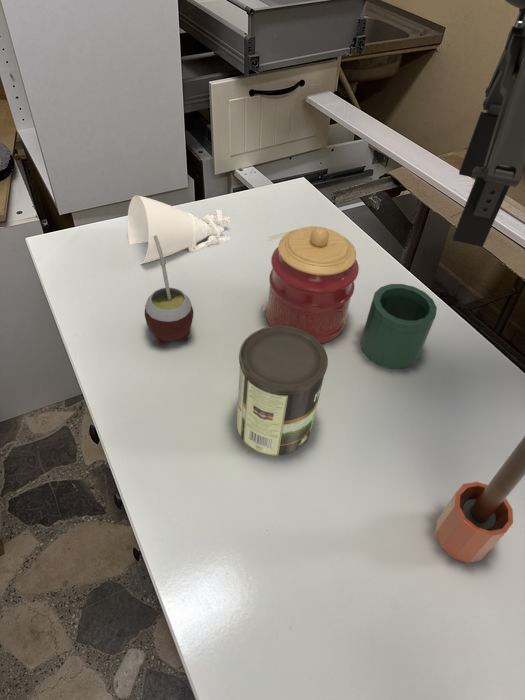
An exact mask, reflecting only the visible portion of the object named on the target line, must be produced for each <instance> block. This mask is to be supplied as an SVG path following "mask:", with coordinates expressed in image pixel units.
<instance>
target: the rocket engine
mask: <svg viewBox="0 0 525 700" xmlns="http://www.w3.org/2000/svg"><path fill="white" fill-rule="evenodd" d="M213 213H214V214H213ZM213 213H211V214H210V215H209V214H205V215H204V216H203V217H202V219H201V218H199V217H197V216H196V215H194V214H192V212H189V211H188V212H187V211H184V210H182V209H179V207H175V206H173V205H170V204H167V203H165V202H162V201H159V200H156V199H153V198H150V197H145V196H142V195H134V196H132V198H131V200H130V202H129V205H128V210H127V222H126V223H127V238H128V243H129V245H134V244H140V243H147V250H146V254H145V258H144V260H143V261H142V262H139V264H140V265H143V264H147V263H151V262H154V261H158V260H159V258H160V257H159V253H158V249H157V246H156V243H155V240H154V236H157V237H158V240H159V243H160V246H161V249H162V253H163V257H165V258H166V257H170V256H171V255H174V254H176V253H179V252H182V251H183V250H185V249H187V250H188V251H189V252H190V253H197V252H199V251H200V250H203V249H205V248H206V247H208V246H210V245H216V244H220V243H223V242H228V241H229V240H232V237H231V236H230V235H227V236H226V235H223V233H224V232H225V228H224V227H223V226H222V225H226V226H227V225H228V224H229V223H230V221H231V218H230V216H229V215H227V216H225V215H223V211H222V209H216V210H214V211H213ZM206 238H207V240H206V241H204V242H202V241H203V240H205V239H206ZM199 242H200V243H199Z"/></svg>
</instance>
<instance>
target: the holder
mask: <svg viewBox="0 0 525 700" xmlns="http://www.w3.org/2000/svg"><path fill="white" fill-rule="evenodd" d="M487 485H488V484H486V483H483V482H479V481H473V482H467V483H463V484H462V485H461V486H460V487H459V488H458V490H457V491H456V492H455V493H454V494H453V496H452V497H451V499H450V500H449V502H448V503H447V505H446V507H445V508H444V510H443V511H442V512H441V514H440V515H439V517H438V519H436V521H435V530H434V536H435V538H436V539H437V542H438V544H439V546H440V548H441V549H442V550H443V551H444V552H445V553H446V554H448V556H450V557H451V558H452V559H454V560H457V561H460V562H464V563H466V564H470V563H475V562H479V561H482V559H483V558H484V557H485V556H486V555H487V554H488V553H489V552H490V551H491V550H492V549H493V547H495V545H496V544H497V543H498V542H499V541H500V540H501V539H502V538H503V537H504V535H505V534H506V533H507V532H508V531H509V530H510V528H511V527H512V525H514V510H513V508H512V506H511V504H510V503H509V501H508V499H507V497H506V498H505V500H504V501H503V502H502V503H501V505H500V506H499V507H498V508H497V509H496V511H495V512H494V513H495V515H496V523H495V525H494V526H493V528H492V529H491V530H490V531H488V530H485V529H482V528H478V527H476V526H475V525H474V524H473V523H472V522H470V521H469V520H468V519H467V518H466V517H465V515H464V513H463V511H462V509H461V507H462V505H463V504H464V503H465V502H466V501H467V500H469V499H478V497H479V496H480V495H481V493H482V492H483V491H484V489H485V488H486V487H487Z"/></svg>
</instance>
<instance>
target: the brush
mask: <svg viewBox="0 0 525 700" xmlns="http://www.w3.org/2000/svg"><path fill="white" fill-rule="evenodd" d="M524 477H525V435H524V436H523V437H522V439H521V440H520V441H519V443H518V444H517V445H516V447H515V448H514V449H513V451H512V452H511V453H510V455H509V456H508V457H507V459H506V460H505V461H504V463H503V464H502V466H500V468H499V469H498V471H497V472H496V474H495V475H494V476H493V477H492V479H491V480H490V481H489V483H488V484H486V485H487V487H486V488H485V489H484V491H483V492H482V493H481V495H480V496H479V497H478V499H469V500H467V501H466V502H465V503H464V504H463V505H462V507H461V509H462V511H463V513H464V515H465V517H466V518H467V519H468V520H469V521H470V522H472V523H473V524H474V525H475V526H476V527H478V528H482V529H485V530H488V531H490V530H491V529H492V528H493V526H494V525H495V523H496V515H495V513H494V512H495V511H496V509H497V508H498V507H499V506H500V505H501V503H502V502H503V501H504V500H505V498H506V499H507V498H508V496H509V495H510V494H511V492H512V491H514V489H515V488H516V486H518V484H519V483H520V482H521V481H522V479H523V478H524Z"/></svg>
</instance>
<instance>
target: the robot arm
mask: <svg viewBox="0 0 525 700" xmlns="http://www.w3.org/2000/svg"><path fill="white" fill-rule="evenodd" d="M504 2H506V3H508V4H509V5H511V6H512V7H514V8H517V9H518V13H517V14H518V15H517V17H516V20H515V22H514V25H513V26H511V28H510V30H509V33H508V35H507V39H506V43H505V46H504V49H503V51H502V53H501V55H500V58H499V60H498V62H497V65H496V67H495V70H494V72H493V74H492V77H491V79H490V81H489V84H488V87H486V88H485V91H484V94H485V95H484V97H485V99H484V100H483V103H482V110H483V111H481V112H480V113H479V116H478V119H477V121H476V125H475V127H474V130H473V133H472V136H471V138H470V141H469V143H468V147H467V149H466V152H465V155H464V157H463V159H462V162H461V165H460V169H459V171H458V175H460V176H463V177H470V178H474V179H475V180H474V181H473V184H472V187H471V189H470V192H469V195H468V197H467V200H466V202H465V205H464V207H463V210H462V213H461V215H460V217H459V220H458V223H457V226H456V228H455V230H454V232H453V236H452V241H454V242H458V243H464V244H468V245H472V246H477V247H481V248H483V247H484V245H485V243H486V241H487V239H488V236H489V235H490V231H491V230H492V227H493V224H494V223H495V220H496V218H497V216H498V214H499V211H500V209H501V207H502V205H503V202H504V200H505V198H506V195H507V194H508V192H509V189H510V187H514V188H516V187H517V186H518V185H519V183H520V182H521V181H522V180H521V179H522V173H523V172H524V171H523V170H524V168H525V0H504ZM485 111H486V112H485Z"/></svg>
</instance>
